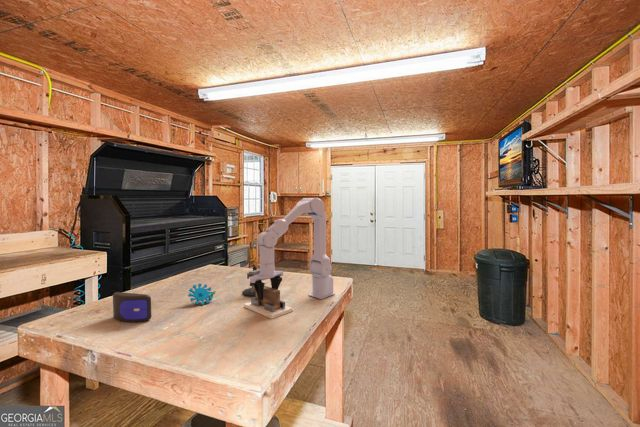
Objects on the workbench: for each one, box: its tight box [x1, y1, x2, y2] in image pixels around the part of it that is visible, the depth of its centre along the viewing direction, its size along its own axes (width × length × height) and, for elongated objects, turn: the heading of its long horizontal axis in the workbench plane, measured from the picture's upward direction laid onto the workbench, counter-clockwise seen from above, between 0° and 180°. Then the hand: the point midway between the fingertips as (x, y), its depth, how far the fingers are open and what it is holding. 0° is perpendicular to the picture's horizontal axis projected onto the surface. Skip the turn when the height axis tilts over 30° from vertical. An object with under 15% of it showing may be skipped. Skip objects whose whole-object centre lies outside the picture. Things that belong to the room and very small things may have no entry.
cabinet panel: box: [243, 301, 294, 319], centre depth 114 cm, size 10×18×1 cm, turn 47°
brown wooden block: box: [255, 285, 281, 310], centre depth 115 cm, size 4×12×7 cm, turn 47°
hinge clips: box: [250, 297, 286, 312], centre depth 114 cm, size 6×14×2 cm, turn 47°
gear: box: [187, 282, 217, 306], centre depth 123 cm, size 11×6×10 cm
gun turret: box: [241, 265, 260, 298], centre depth 138 cm, size 13×20×13 cm, turn 154°
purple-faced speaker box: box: [112, 291, 152, 323], centre depth 104 cm, size 16×5×9 cm, turn 75°
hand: (267, 297), depth 114 cm, fingers open, 6 cm apart
